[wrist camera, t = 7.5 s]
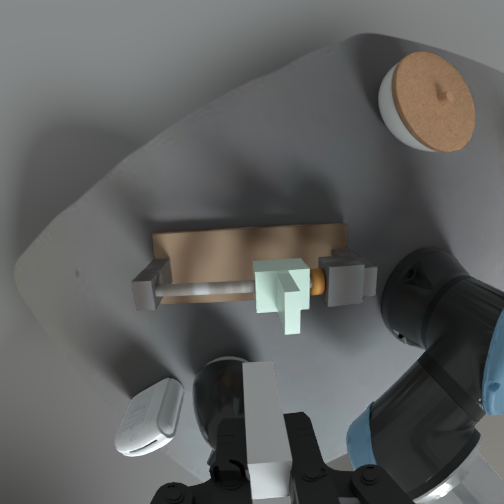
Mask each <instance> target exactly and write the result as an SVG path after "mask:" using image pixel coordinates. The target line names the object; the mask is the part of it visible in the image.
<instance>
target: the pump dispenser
mask: <svg viewBox="0 0 504 504" xmlns="http://www.w3.org/2000/svg"><path fill="white" fill-rule="evenodd" d="M243 363H249V362H248V361H247V360H245V359H242V358H239V357H232V356H227V357H220V358H217V359H215V360H213V361H211V362H209V363H208V364H207V365H206V366H204V367H203V368H202V369H201V370H200V371H199V372H198V373H197V375H196V377H195V379H194V383H193V390H192V395H193V407H194V413H195V417H196V421H197V424H198V427H199V429H200V432H201V434H202V436H203V438H204V440H205V441H206V442H207V444H208V445H209V446H210V447H211V448H212V449H213V450H212V452H211V454H210V457H209V459H208V461H207V464H208V465H209V466H211V465H212V464H213V463H214V462H215V461H216V446H217V427H218V425H219V424H220V422H221V420H222V419H227V418H245V406H244V385H243Z"/></svg>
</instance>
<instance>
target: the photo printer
mask: <svg viewBox="0 0 504 504" xmlns="http://www.w3.org/2000/svg"><path fill="white" fill-rule="evenodd" d="M183 398H184V391H183V387H182V385H181V384H180V383H179V382H178V381H177V380H175V379H172V378H171V379H170V378H166V379H163V380H161V381H160V382H158V383H156V384H154V385H152V386H151V387H149V388H147V389H145V390H144V391H142V392H140V393H139V394H137V395H136V396H134V397H133V398H132V399H131V401H130V403H129V405H128V408H127V410H126V413H125V415H124V417H123V420H122V422H121V425H120V427H119V429H118V432H117V434H116V437H115V445H116V448H117V450H118V451H119V452H121V453H122V454H124V455H125V456H139V455H144V454H147V453H150V452H152V451H154V450H156V449H158V448H160V447H162V446H164V445H165V444H167V443H168V442H169V441H170V440H172V439H173V437H174V436H175V434H176V430H177V426H178V421H179V417H180V412H181V408H182V403H183Z"/></svg>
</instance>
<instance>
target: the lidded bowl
mask: <svg viewBox="0 0 504 504" xmlns="http://www.w3.org/2000/svg"><path fill="white" fill-rule="evenodd" d="M378 104H379V110H380V113H381V116H382V119H383V121H384V123H385V125H386V126H387V128H388V129H389V131H390V132H391V133H392V134H393V135H394V136H395V137H396V138H397V139H398V140H399V141H401V142H402V143H404V144H405V145H407V146H409V147H411V148H414V149H417V150H421V151H428V152H454V151H457V150H460V149H461V148H463V147H464V146H465V145H466V144H467V143H468V142H469V140H470V139H471V136H472V134H473V131H474V127H475V107H474V102H473V98H472V96H471V93H470V90H469V88H468V86H467V84H466V82H465V81H464V79H463V78H462V76H461V75H460V74H459V72H458V71H457V70H456V69H455V68H454V67H453V66H452V65H451V64H450V63H449V62H448V61H446V60H445V59H443V58H441V57H440V56H438V55H436V54H433V53H430V52H424V51H418V52H413V53H410V54H409V55H407V56H405V57H404V58H403V59H402V60H400V61H399V62H398V63H397V64H396V65H394V66H393V67H392V68H391V69H390V70H389V71H388V73H387V74H386V76H385V77H384V79H383V80H382V83H381V85H380V89H379V94H378Z"/></svg>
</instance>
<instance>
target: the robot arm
mask: <svg viewBox="0 0 504 504" xmlns="http://www.w3.org/2000/svg"><path fill="white" fill-rule="evenodd" d="M382 316H383V320H384V322H385V325H386V327H387V328H388V329H389V331H390V332H391V333H392V334H393V335H394V336H395V337H396V338H397V339H398V340H400V341H401V342H403V343H406V344H408V345H412V346H415V347H418V348H421V349H424V350H426V351H425V352H424V353H423V354H422V356H421V357H420V358H419V359H418V360H417V361H416V362H415V363H414V364H413V365H412V366H411V367H410V368H409V369H408V370H407V371H406V372H405V373H404V374H403V375H402V376H401V377H400V378H399V379H398V380H397V381H396V382H395V383H394V384H393V385H392V386H391V387H390V388H389V389H388V390H387V391H386V392H385V393H384V394H383V395H382V396H381V397H380V398H379V399H377V400H376V401H375V402H372V403H371V404H369V406H368V408H367V409H366V410H365V411H364V412H363V413H362V414H361V415H360V416H359V417H358V418H357V419H356V420H355V421H354V422H353V423H352V424H351V425H350V427H349V429H348V432H347V437H346V443H347V451H348V455H349V459H350V461H351V464H352V466H353V468H354V470H355V471H354V472H353V471H338V470H334V469H331V468H330V467H328V466H327V465H326V464H325V463H324V461H323V459H322V456H321V453H320V449H319V446H318V443H317V439H316V436H315V433H314V430H313V426H312V423H311V420H310V418H309V417H308V416H307V415H306V414H305V413H304V412H297V413H289V414H283V412H282V407H281V402H280V397H279V392H278V387H277V382H276V377H275V372H274V368H273V363H272V361H264V362H249V363H243V385H244V406H245V418H227V419H222V420H221V422H220V424H219V425H218V427H217V446H216V461H215V462H214V463H213V464H212V465H211V467H210V470H209V472H210V475H211V478H210V479H209V480H208V481H206V482H205V483H202V484H198V485H194V486H189V487H188V486H186V485H184V484H182V483H176V482H172V483H167V484H165V485H163V486H161V487H160V488H159V489H158V490H157V492H156V494H155V496H154V497H153V499H152V501H151V503H150V504H253V502H252V499H263V498H274V497H283V496H289V495H290V496H291V504H415V503H423V504H504V481H503V480H502V478H501V477H500V476H499V475H498V474H497V473H496V472H495V470H494V469H493V468H492V467H491V466H490V465H489V463H488V462H487V461H486V460H485V459H484V458H483V457H482V456H481V454H480V446H481V441H482V435H481V434H480V433H479V432H478V431H477V430H476V429H475V427H474V426H475V425H476V424H477V422H479V420H480V419H481V418H482V417H483V416H484V415H485V414H486V413H487V414H488V415H493V416H499V415H501V414H503V413H504V292H503V291H501V290H499V289H497V288H494V287H492V286H490V285H488V284H486V283H484V282H482V281H480V280H477V279H475V278H473V277H471V276H470V275H469V274H468V272H467V271H466V270H465V269H464V268H463V266H462V265H461V264H460V263H459V262H458V260H457V259H456V258H455V257H454V256H452V255H451V254H449V253H447V252H445V251H443V250H440V249H437V248H423V249H419V250H417V251H415V252H413V253H411V254H410V255H408V256H407V257H406V258H404V259H403V260H402V261H401V262H400V263H399V264H398V266H397V267H396V268H395V269H394V271H393V272H392V274H391V276H390V278H389V279H388V282H387V284H386V287H385V290H384V293H383V298H382Z"/></svg>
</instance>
